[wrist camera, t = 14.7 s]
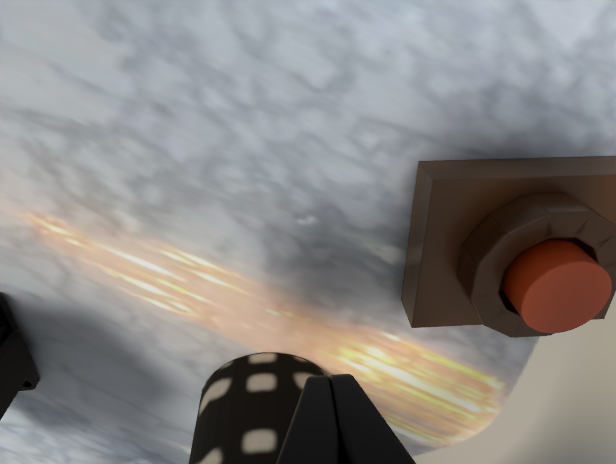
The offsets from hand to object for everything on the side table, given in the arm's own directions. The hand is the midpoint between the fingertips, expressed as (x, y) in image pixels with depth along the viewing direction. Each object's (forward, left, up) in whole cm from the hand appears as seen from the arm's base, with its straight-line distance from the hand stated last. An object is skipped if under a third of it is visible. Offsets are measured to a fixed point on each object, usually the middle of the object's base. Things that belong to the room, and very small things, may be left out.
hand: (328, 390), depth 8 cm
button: (+10, -4, -9) cm, 15 cm away
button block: (+10, -4, -13) cm, 17 cm away
